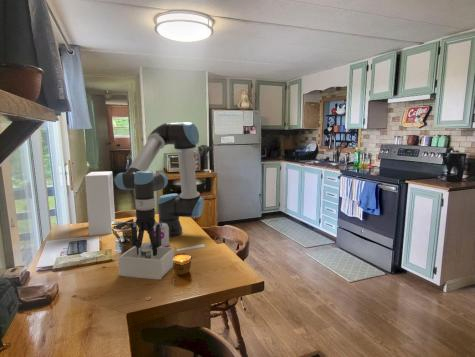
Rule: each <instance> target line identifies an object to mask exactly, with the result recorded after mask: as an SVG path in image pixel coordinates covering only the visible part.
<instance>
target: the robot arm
mask: <svg viewBox="0 0 475 357" xmlns="http://www.w3.org/2000/svg"><path fill="white" fill-rule="evenodd" d="M146 139H147V140H146V142H145V143H144V145H143V147H142V148H141V150H140V151H139V153H138V154H137V155H136V156H135V158H134V159H133V161H132V163H131V164H130V165H129V166H128V168H127V170H126V171H125V172H119V173H118V174H116V176H115V180H114V182H115V185H116V187H117V188H118V189H121V190H130V191H131V190H132V191H133V190H134V201H135V208H136V209H135V218H136V219H135V221H132V222H131V223H129V227H130V229H131V230H130V231H131V245H132V246H133V247H134V246H136V247H137V255H139V258H141V249H142V244H143V239H144V233H145V232H147V234H148V237H149V241H150V243H151V245H152V248H151V259H156V255H157V248H158V247H160V246H161V227H162V223H166V224H167V225H168V227H169V238H171V237H176V236H179V235H181V234H182V233H183V227H182V225H181V222H180V217H182V218H199V217H201V216H202V214H203V211H204V205H205V199H204V197H201V194H200V191H197V189H198V188H197V187H198V186H197V178H196V177H197V175H196V167H195V166H196V164H195V154H194V152H195V151H194V150H195V149H196V148H197V145H198V144H199V141H200V134H199V130H198V127H197V126H196V124H195V123H193V122H187V121H183V122H165V123H162V124H160V125H159V126H157V127H156V128H154V129H153V130H152V131H151V132H150V133H149V135H148V136H147V138H146ZM168 145H173V146H174V149H175V151H177V158H178V169H179V179H180V180H179V181H180V188H181V193H179V194H178V193H168V194H164V195H160V196H159V197H158V200H157V201H158V202H157V208H158V222H157V221H156V219H155V217H156V214H155V213H156V211H155V192H156V191H161V190H163V189H164V188H166V187H167V185H168V183H169V180H168V179H169V178H168V176H167V175H166V174H164V173H163V172H155V173H153V171H151V170H149V168H150V166H151V165H152V163H153V161H154V159H155V158H156V157H157V155H158V153H159V152H160V150H162V149H164V148H165V146H168ZM159 223H160V224H159ZM154 225H155V228H156V238H155V234H154V228H153V227H154Z"/></svg>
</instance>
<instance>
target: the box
mask: <svg viewBox="0 0 475 357" xmlns="http://www.w3.org/2000/svg"><path fill="white" fill-rule="evenodd" d="M84 180H85V182H84V183H85V193H86V194H85V195H86V207H87V208H86V210H87V211H86V212H87V226H88V235H89V236H98V235H108V234H109V235H111V234H113V232H112V230H111V226H112V224H113V223H114V222H115V223H116V213H115V212H116V211H115V200H114V199H115V197H114V196H115V195H114V181H113V180H114V179H113V171H112V170H111V171H109V170H108V171H106V170H105V171H91V172H89V173H87V174H85V175H84Z"/></svg>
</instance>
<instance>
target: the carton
mask: <svg viewBox="0 0 475 357" xmlns="http://www.w3.org/2000/svg"><path fill="white" fill-rule="evenodd" d="M169 247H170V246H169ZM169 247H158V248H157V255H156V259H158V260H149V259H133V258H122V257H134V258H139V255H137V247H136V246H133V247H131V248H130V249H128V250H127V251H125V252H124V253H122V254H121V255H119V256H120V257H117V258H118V275H119V277H126V278H127V277H128V278H136V279H148V280H149V279H150V280H158V279H159V281H161V280H162V277H163V276H164V275H165V274H168V272H170V270H171V269H173V267H174V266H173V261H172V259H173V258H174V259H175V247H170V248H169ZM165 276H166V275H165ZM165 276H164V277H165ZM164 277H163V278H164Z"/></svg>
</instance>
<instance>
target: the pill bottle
mask: <svg viewBox="0 0 475 357" xmlns="http://www.w3.org/2000/svg"><path fill="white" fill-rule="evenodd" d="M141 246H142V249H141V258H147V259H151V248H152V245H151V242H149V241H148V242H142V245H141Z"/></svg>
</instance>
